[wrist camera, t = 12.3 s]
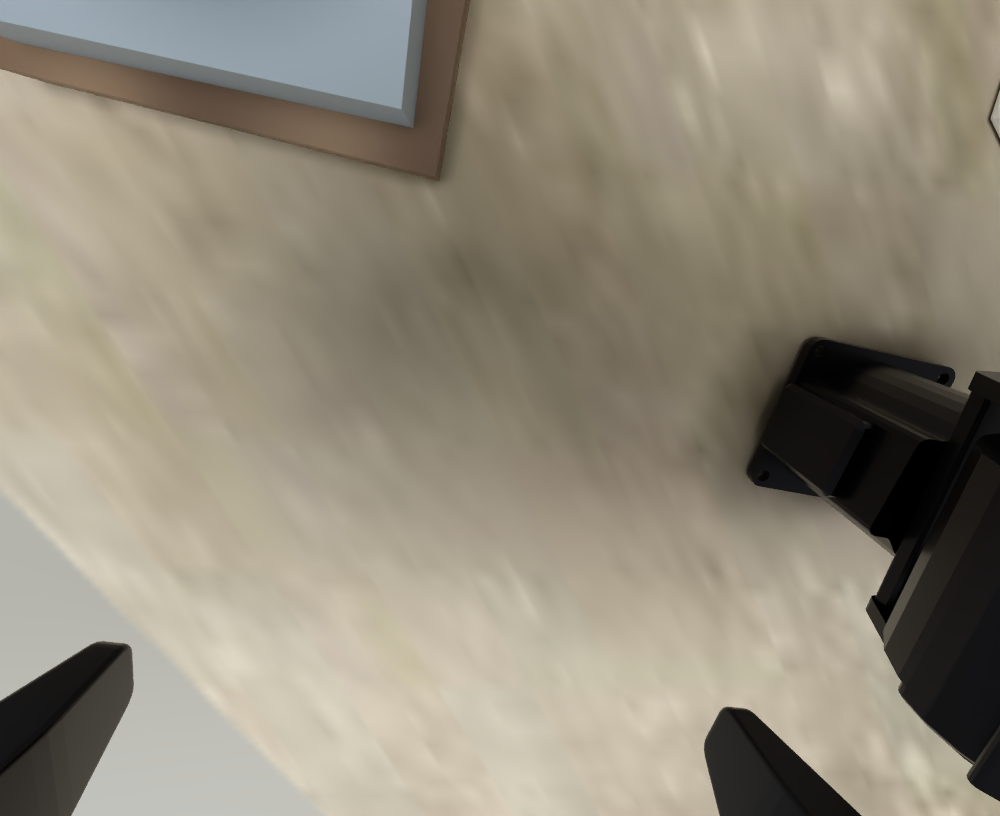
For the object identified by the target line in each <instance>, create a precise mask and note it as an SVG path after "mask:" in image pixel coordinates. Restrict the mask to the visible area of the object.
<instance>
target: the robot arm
mask: <svg viewBox="0 0 1000 816" xmlns="http://www.w3.org/2000/svg"><path fill="white" fill-rule="evenodd" d="M820 346H821V351H820V352H819V353H818V354H817V355H815V351H816V349H817V348H818V347H820ZM939 376H940V378H939V379H938V380H937V378H938V377H939ZM954 379H955V372H954V370H953V369H952V368H950V367H947V366H944V365H941V364H936V363H932V362H927V361H923V360H919V359H914V358H910V357H905V356H901V355H897V354H892V353H888V352H883V351H879V350H875V349H870V348H866V347H861V346H857V345H853V344H848V343H844V342H839V341H835V340H831V339H826V338H822V337H815V338H812V339H810V340H809V341H807V342H806V344H805V345H804V347H803V349H802V351H801V353H800V355H799V358H798V360H797V362H796V364H795V366H794V369H793V371H792V373H791V375H790V378H789V380H788V382H787V384H786V386H785V388H784V390H783V392H782V394H781V397H780V399H779V401H778V403H777V405H776V408H775V410H774V412H773V414H772V416H771V419H770V421H769V423H768V425H767V428H766V430H765V432H764V434H763V436H762V439H761V442H760V444H759V446H758V448H757V451H756V453H755V455H754V457H753V460H752V462H751V464H750V466H749V468H748V472H747V475H748V478H749V479H750V480H751V481H752V482H753V483H754V484H755V485H757V486H761V487H767V488H773V489H778V490H784V491H790V492H795V493H801V494H807V495H812V496H818V497H822V498H823V499H824V500H825V501H827V502H828V503H829V504H830V505H831V506H833V507H834V508H835V509H836V510H838V511H839V512H840V513H841V514H842V515H844V516H845V517H846V518H847V519H849V520H850V521H851V522H852V523H853V524H855V525H856V526H857V527H858V528H860V529H861V530H862V531H863V532H865V533H866V534H867V535H868V536H869V537H871V538H872V539H873V540H874V541H876V542H877V543H878V544H879V545H880V546H882V547H883V548H884V549H885V550H887V551H888V552H889V553H890V554H891V555H893V556H894V558H893V560H892V562H891V565H890V567H889V569H888V571H887V573H886V575H885V577H884V580H883V582H882V584H881V586H880V588H879V590H878V592H877V595H874V596H872V597H871V599H870V601H869V603H868V605H867V607H866V611H867V613H868V615H869V617H870V619H871V621H872V622H873V624H874V626H875V628H876V630H877V632H878V634H879V635H880V637H881V639H882V641H883V643H884V651H885V653H886V654H887V656H888V658H889V660H890V662H891V664H892V666H893V668H894V670H895V672H896V674H897V675H898V677H899V678H900V680H901V683H900V685H899V688H898V691H899V693H900V694H901V696H902V698H903V699H904V700H905V702H906V703H907V704H908V705H909V706H910V707H911V708H912V709H913V711H914V712H915V713H916V714H917V715H918V716H919V717H920V718H921V719H922V721H923V722H924V723H925V724H926V725H927V726H928V727H929V728H930V729H931V730H933V731H934V732H935V733H936V734H937V735H938V736H939V737H940V738H942V739H943V740H944V741H945V742H946V743H947V744H948V745H949V746H951V747H952V748H953V749H954V750H955V751H956V752H957V753H959V754H960V755H961V756H962V757H963V758H964V759H966V760H967V761H968V762H970V763H971V764H973V766H972V767H971V769H970V770H969V772H968V774H967V778H968V780H969V781H970V783H971V784H972V785H973V786H975V787H976V788H977V789H979V790H981V791H982V792H984V793H986V794H988V795H989V796H991V797H993V798H995V799H997V800H998V801H1000V373H999V372H987V371H976V372H975V375H974V377H973V379H972V381H971V383H970V385H969V387H968V389H969V390H971V393H970V395H968V394H965V393H963V392H960V391H957V390H955V389H952V388H950V387H951V385H952V383H953V382H954ZM762 471H764V473H763V474H762V475H761V476H758V474H759V473H760V472H762ZM133 685H134V682H133V662H132V649H131V647H130V646H129V645H128V644H124V643H114V642H105V641H102V642H96V643H94V644H91V645H90V646H88V647H86V648H84V649H83V650H81V651H80V652H78V653H76V654H75V655H73V656H72V657H70V658H68V659H67V660H65V661H63V662H62V663H60V664H59V665H57V666H56V667H54V668H52V669H51V670H49V671H47V672H46V673H44V674H43V675H41V676H39V677H38V678H36V679H35V680H33V681H31V682H30V683H28V684H27V685H25V686H23V687H22V688H20V689H19V690H17V691H15V692H14V693H12V694H11V695H9V696H7V697H6V698H4V699H2V700H1V701H0V816H71V815H72V813H73V811H74V809H75V807H76V805H77V803H78V801H79V800H80V798H81V796H82V794H83V792H84V790H85V788H86V786H87V784H88V781H89V780H90V778H91V776H92V774H93V772H94V770H95V768H96V766H97V764H98V763H99V761H100V758H101V757H102V755H103V753H104V751H105V749H106V747H107V745H108V743H109V741H110V739H111V737H112V735H113V733H114V731H115V729H116V727H117V725H118V724H119V722H120V720H121V718H122V716H123V714H124V712H125V710H126V708H127V706H128V704H129V701H130V699H131V696H132V693H133ZM704 752H705V759H706V763H707V767H708V771H709V775H710V779H711V783H712V787H713V791H714V795H715V799H716V803H717V807H718V811H719V815H720V816H861V815H860V814H859V813H858V812H857V811H856V810H855V809H854V808H853V807H852V806H851V805H850V804H849V803H848V802H847V801H846V800H844V799H843V798H842V797H841V796H840V795H839V794H838V793H837V792H836V791H835V790H834V789H833V788H832V787H831V786H830V785H829V784H828V783H827V782H826V781H824V780H823V779H822V778H821V777H820V776H819V775H818V774H817V773H816V772H815V771H814V770H813V769H812V768H811V767H810V766H809V765H808V764H807V763H806V762H804V761H803V760H802V759H801V758H800V757H799V756H798V755H797V754H796V753H795V752H794V751H793V750H792V749H791V748H790V747H789V746H788V745H787V744H786V743H784V742H783V741H782V740H781V739H780V738H779V737H778V736H777V735H776V734H775V733H774V732H773V731H772V730H771V729H770V728H769V727H768V726H767V725H766V724H765V723H763V722H762V721H761V720H760V719H759V718H758V717H757V716H756V715H755V714H754V713H753V712H751V711H750V710H747V709H744V708H735V707H725V708H723V709H722V710H721V711H720V712H719V714H718V716H717V718H716V720H715V722H714V724H713V725H712V727H711V729H710V731H709V733H708V735H707V737H706V739H705V744H704Z"/></svg>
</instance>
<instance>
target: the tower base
mask: <svg viewBox="0 0 1000 816" xmlns="http://www.w3.org/2000/svg"><path fill="white" fill-rule="evenodd" d="M469 2H470V0H427V7H426V16H425V25H424V34H423V44H422V53H421V62H420V71H419V80H418V90H417V99H416V108H415V117H414V126H413V128H411V127H406V126H402V125H397V124H392V123H388V122H383V121H378V120H374V119H369V118H365V117H360V116H355V115H351V114H346V113H341V112H337V111H332V110H328V109H323V108H318V107H314V106H309V105H304V104H300V103H295V102H290V101H286V100H281V99H277V98H272V97H267V96H263V95H258V94H253V93H249V92H244V91H239V90H235V89H230V88H226V87H221V86H216V85H212V84H207V83H202V82H198V81H193V80H189V79H184V78H179V77H175V76H170V75H165V74H161V73H156V72H151V71H147V70H142V69H138V68H133V67H128V66H124V65H119V64H114V63H110V62H105V61H101V60H96V59H91V58H87V57H82V56H77V55H73V54H68V53H63V52H59V51H54V50H50V49H45V48H40V47H36V46H31V45H26V44H22V43H18V42H15V41H12V40H10V39H7V38H4V37H1V36H0V69H3V70H6V71H10V72H13V73H16V74H20V75H23V76H27V77H30V78H33V79H37V80H40V81H44V82H48V83H52V84H56V85H59V86H63V87H67V88H71V89H75V90H79V91H83V92H87V93H91V94H95V95H99V96H103V97H107V98H111V99H115V100H119V101H123V102H127V103H131V104H135V105H139V106H143V107H147V108H151V109H155V110H159V111H163V112H167V113H171V114H175V115H179V116H183V117H187V118H191V119H195V120H199V121H203V122H207V123H211V124H215V125H219V126H223V127H227V128H231V129H235V130H239V131H243V132H247V133H251V134H255V135H259V136H263V137H267V138H270V139H274V140H278V141H282V142H286V143H290V144H294V145H298V146H302V147H306V148H310V149H314V150H318V151H322V152H326V153H330V154H334V155H338V156H342V157H346V158H350V159H354V160H358V161H362V162H366V163H370V164H374V165H378V166H382V167H386V168H390V169H394V170H398V171H402V172H406V173H410V174H414V175H418V176H422V177H426V178H430V179H434V180H438V181H439V178H440V172H441V166H442V160H443V155H444V149H445V143H446V137H447V131H448V125H449V119H450V113H451V108H452V102H453V96H454V90H455V84H456V78H457V72H458V66H459V61H460V55H461V49H462V43H463V37H464V31H465V25H466V20H467V14H468V8H469Z"/></svg>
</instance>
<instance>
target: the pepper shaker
mask: <svg viewBox="0 0 1000 816" xmlns="http://www.w3.org/2000/svg"><path fill="white" fill-rule="evenodd" d="M990 119H991V121H992V123H993V125H994V127H995V129H996V131H997V134H998V136H999V138H1000V91H999V94H998V97H997V100H996V103H995V106H994V109H993V112H992V115H991V118H990Z"/></svg>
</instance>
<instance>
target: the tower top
mask: <svg viewBox="0 0 1000 816" xmlns="http://www.w3.org/2000/svg"><path fill="white" fill-rule="evenodd" d="M426 7H427V0H0V36H1V37H4V38H7V39H10V40H12V41H15V42H18V43H22V44H26V45H31V46H36V47H40V48H45V49H50V50H54V51H59V52H63V53H68V54H73V55H77V56H82V57H87V58H91V59H96V60H101V61H105V62H110V63H114V64H119V65H124V66H128V67H133V68H138V69H142V70H147V71H151V72H156V73H161V74H165V75H170V76H175V77H179V78H184V79H189V80H193V81H198V82H202V83H207V84H212V85H216V86H221V87H226V88H230V89H235V90H239V91H244V92H249V93H253V94H258V95H263V96H267V97H272V98H277V99H281V100H286V101H290V102H295V103H300V104H304V105H309V106H314V107H318V108H323V109H328V110H332V111H337V112H341V113H346V114H351V115H355V116H360V117H365V118H369V119H374V120H378V121H383V122H388V123H392V124H397V125H402V126H406V127H411V128H413V126H414V117H415V108H416V99H417V90H418V80H419V71H420V62H421V53H422V44H423V34H424V25H425V16H426Z"/></svg>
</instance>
